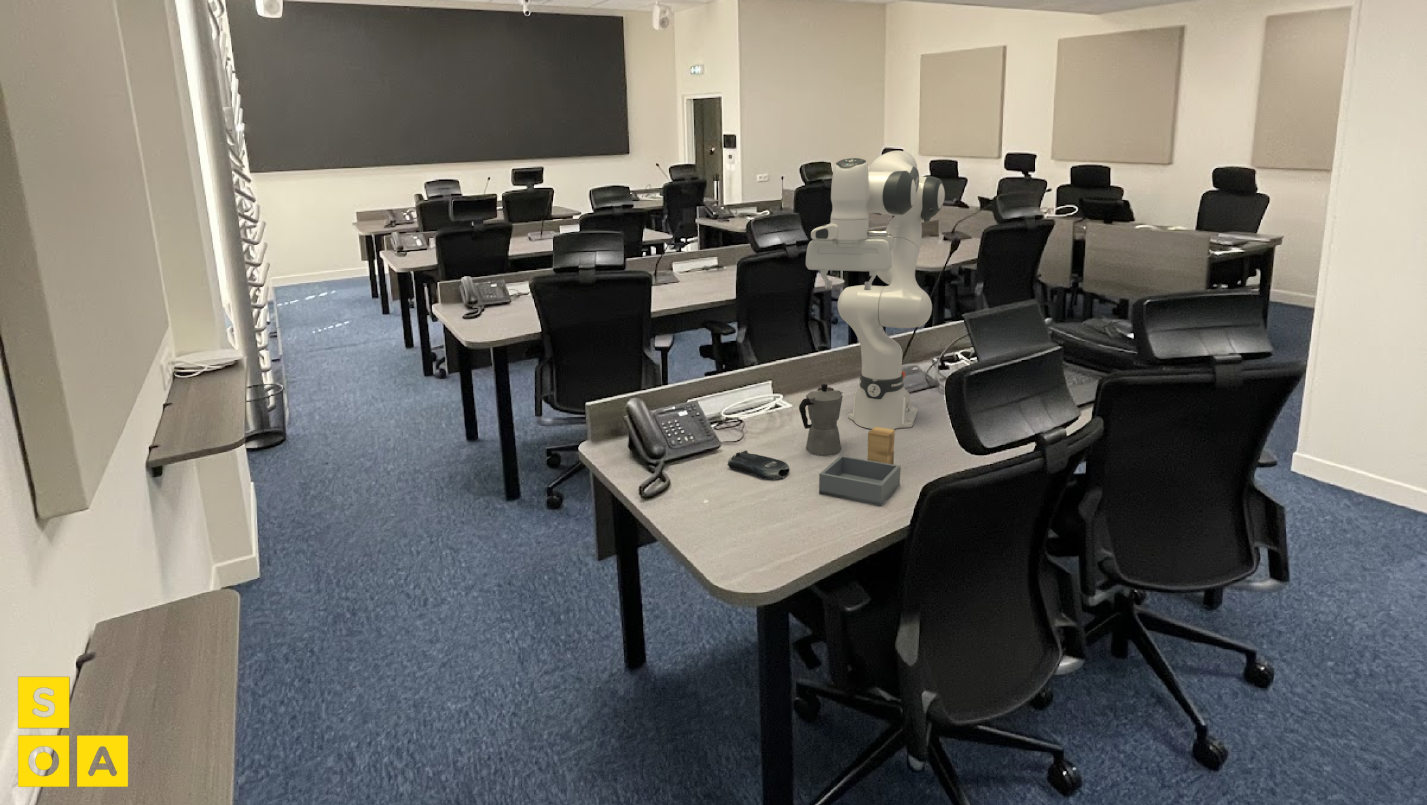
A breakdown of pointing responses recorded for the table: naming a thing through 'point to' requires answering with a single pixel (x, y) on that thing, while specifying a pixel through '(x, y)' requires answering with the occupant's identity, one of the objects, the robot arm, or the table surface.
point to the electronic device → (758, 465)
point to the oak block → (881, 445)
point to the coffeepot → (822, 421)
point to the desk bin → (859, 480)
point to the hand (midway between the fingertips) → (848, 289)
